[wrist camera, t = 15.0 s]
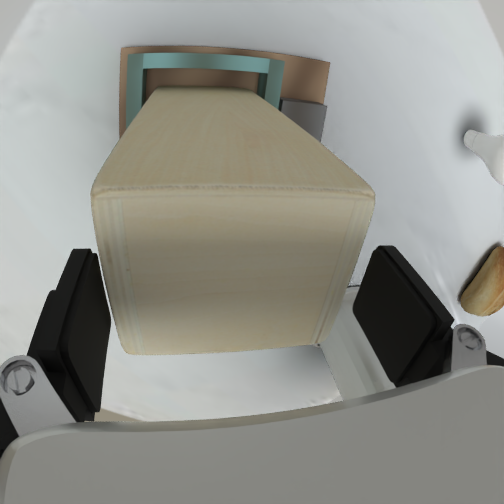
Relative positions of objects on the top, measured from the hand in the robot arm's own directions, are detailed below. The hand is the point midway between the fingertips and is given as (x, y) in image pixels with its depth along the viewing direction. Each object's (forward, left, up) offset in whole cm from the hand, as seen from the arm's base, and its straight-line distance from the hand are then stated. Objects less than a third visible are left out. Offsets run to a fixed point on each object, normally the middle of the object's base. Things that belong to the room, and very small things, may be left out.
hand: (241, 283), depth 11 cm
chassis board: (-2, 0, -22) cm, 22 cm away
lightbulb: (-33, -3, -22) cm, 40 cm away
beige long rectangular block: (0, 0, -20) cm, 20 cm away
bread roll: (-52, +21, -22) cm, 60 cm away
